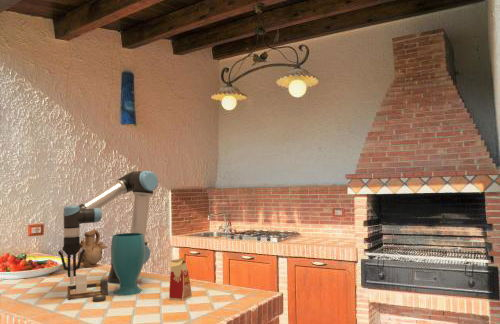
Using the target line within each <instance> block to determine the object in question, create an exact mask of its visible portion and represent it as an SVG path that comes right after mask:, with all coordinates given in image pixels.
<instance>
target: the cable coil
mask: <svg viewBox="0 0 500 324" xmlns="http://www.w3.org/2000/svg"><path fill="white" fill-rule="evenodd" d="M106 300H107V295H95V296H93V297H92V302H95V303H101V302H106Z"/></svg>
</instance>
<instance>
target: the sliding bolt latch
mask: <svg viewBox="0 0 500 324" xmlns="http://www.w3.org/2000/svg"><path fill="white" fill-rule="evenodd" d="M99 281H100V282H95V283H94V282H93V283H87V289H90V288H92V289H93V288H100V290H95V291H86V292H78V293H71V291H73V290H75V289H76V285H69V286H67V295H66V296H67V300H68V301H70V300H79V299H86V298H87V299H88V298H93V296H95V295H106V296H109V282H108V278H103V279H100V280H99Z"/></svg>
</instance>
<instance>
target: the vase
mask: <svg viewBox="0 0 500 324" xmlns="http://www.w3.org/2000/svg"><path fill="white" fill-rule="evenodd" d="M110 244H111V245H110V260H111V259H112V264H113V268H114V270H115V273H116V275H117V277H118V279H119V281H120V283H119V287H118V288H117V289H116V291H115V292H113V294H114V295H117V296H132V295H133V294H134V295H137V293H138V294H141V293H142V292H143V291H142V290H143V289H142V288H140V287H139V286H138V284H137V281H138V279H139V276H140V274H141V271H142V269H143V267H144V264H143V263H144V259H145V240H144V235H143V234H141V233H131V232H127V233H126V232H125V233H116V234H113V235H112V237H111V243H110ZM141 291H142V292H141ZM140 292H141V293H140Z"/></svg>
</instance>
